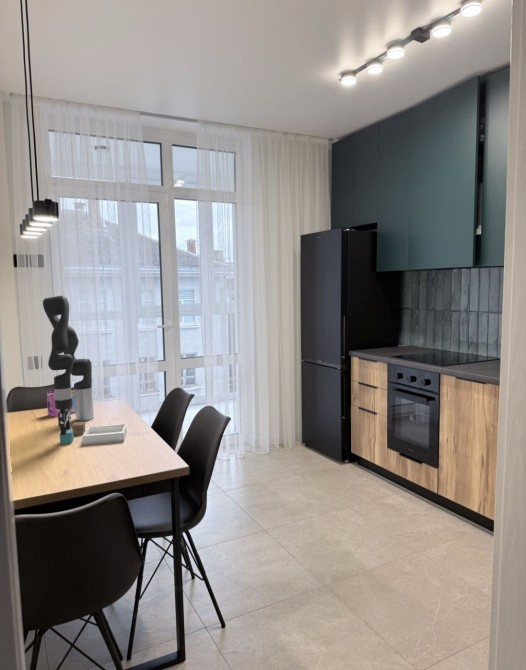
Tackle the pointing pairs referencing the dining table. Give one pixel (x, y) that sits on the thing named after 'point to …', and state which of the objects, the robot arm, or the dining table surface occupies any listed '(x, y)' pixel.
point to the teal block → (67, 437)
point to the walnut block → (78, 428)
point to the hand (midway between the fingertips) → (65, 432)
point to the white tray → (104, 434)
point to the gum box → (51, 404)
